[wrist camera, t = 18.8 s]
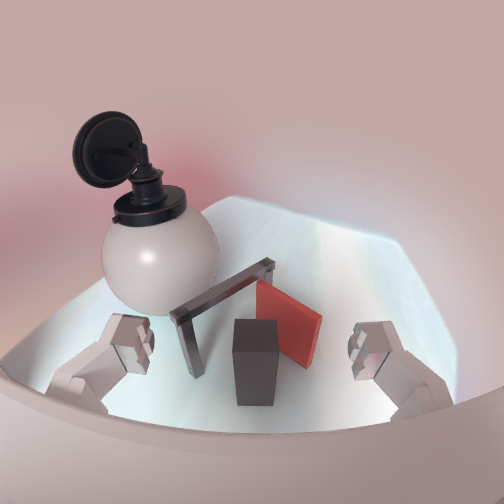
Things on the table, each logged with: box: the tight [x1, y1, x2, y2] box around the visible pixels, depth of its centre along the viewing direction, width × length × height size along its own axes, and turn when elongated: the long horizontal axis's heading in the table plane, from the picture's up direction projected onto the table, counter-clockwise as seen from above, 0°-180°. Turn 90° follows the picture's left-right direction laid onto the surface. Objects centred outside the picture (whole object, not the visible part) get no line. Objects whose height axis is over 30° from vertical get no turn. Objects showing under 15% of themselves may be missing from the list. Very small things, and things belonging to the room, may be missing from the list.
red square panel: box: [256, 279, 322, 369], centre depth 38 cm, size 10×1×10 cm, turn 44°
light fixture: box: [72, 111, 219, 316], centre depth 42 cm, size 20×23×33 cm
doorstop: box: [232, 319, 279, 406], centre depth 32 cm, size 4×4×12 cm
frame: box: [169, 257, 275, 379], centre depth 38 cm, size 16×2×12 cm, turn 134°
